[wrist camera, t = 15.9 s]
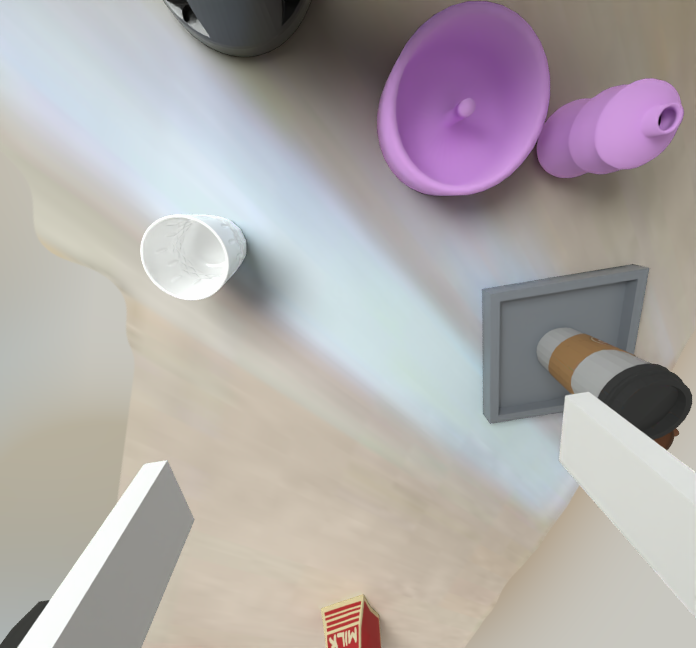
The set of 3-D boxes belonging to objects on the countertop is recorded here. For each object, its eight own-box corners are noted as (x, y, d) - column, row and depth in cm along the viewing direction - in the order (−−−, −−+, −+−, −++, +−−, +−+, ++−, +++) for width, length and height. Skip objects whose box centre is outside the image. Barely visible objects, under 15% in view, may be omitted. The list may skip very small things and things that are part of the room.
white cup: (258, 223, 39) (237, 232, 30) (243, 285, 42) (219, 310, 32) (191, 200, 38) (146, 201, 29) (179, 265, 41) (135, 286, 31)
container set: (366, 183, 38) (383, 177, 26) (392, 20, 33) (429, -84, 21) (563, 217, 41) (664, 226, 29) (617, 71, 36) (768, 5, 23)
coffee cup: (598, 336, 46) (715, 397, 32) (558, 381, 49) (650, 457, 35) (555, 308, 44) (659, 360, 30) (515, 357, 47) (594, 426, 33)
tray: (482, 289, 44) (490, 294, 41) (632, 264, 44) (649, 268, 41) (483, 413, 51) (490, 423, 49) (612, 392, 51) (625, 401, 49)
